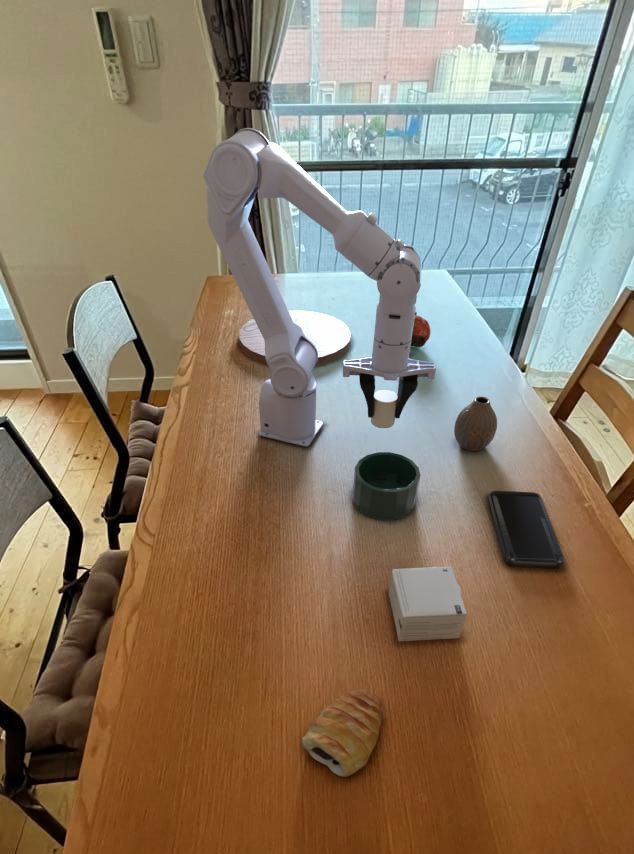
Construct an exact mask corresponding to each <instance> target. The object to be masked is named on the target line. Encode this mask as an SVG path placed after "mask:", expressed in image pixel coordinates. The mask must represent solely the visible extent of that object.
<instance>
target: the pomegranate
mask: <svg viewBox="0 0 634 854" xmlns="http://www.w3.org/2000/svg"><path fill="white" fill-rule="evenodd" d="M430 338H431V325H430V323H429V322H428V320H426V318H424V317H422V316H421V315H418V313H417V311H416V312H415V319H414V326H413V332H412V339H411V345H410V352H409V355H410V353H411V350H412V347H414V348H422V347H424V346H425V345H426V344H427V342H428V341H429V340H430Z"/></svg>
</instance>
